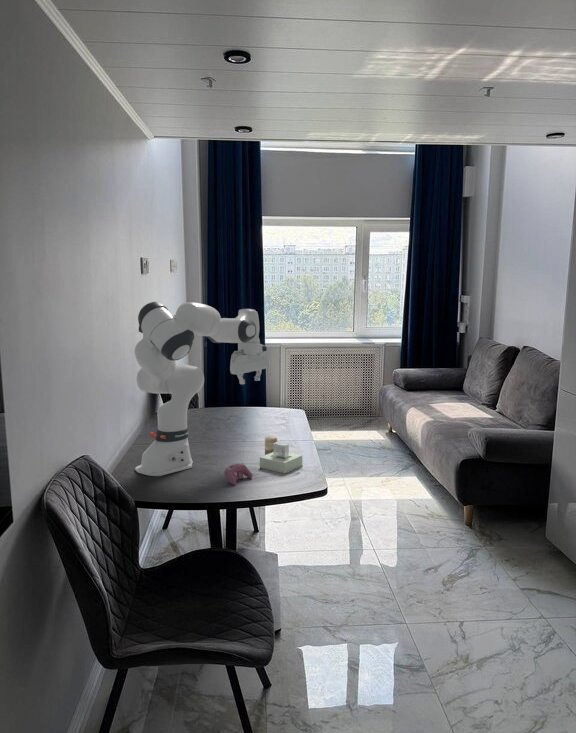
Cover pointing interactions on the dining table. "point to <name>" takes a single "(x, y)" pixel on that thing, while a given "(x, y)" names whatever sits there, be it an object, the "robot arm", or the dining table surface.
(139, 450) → the dining table surface
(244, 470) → the video game controller
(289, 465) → the slot block
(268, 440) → the round beech peg
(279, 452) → the grey rectangular block
